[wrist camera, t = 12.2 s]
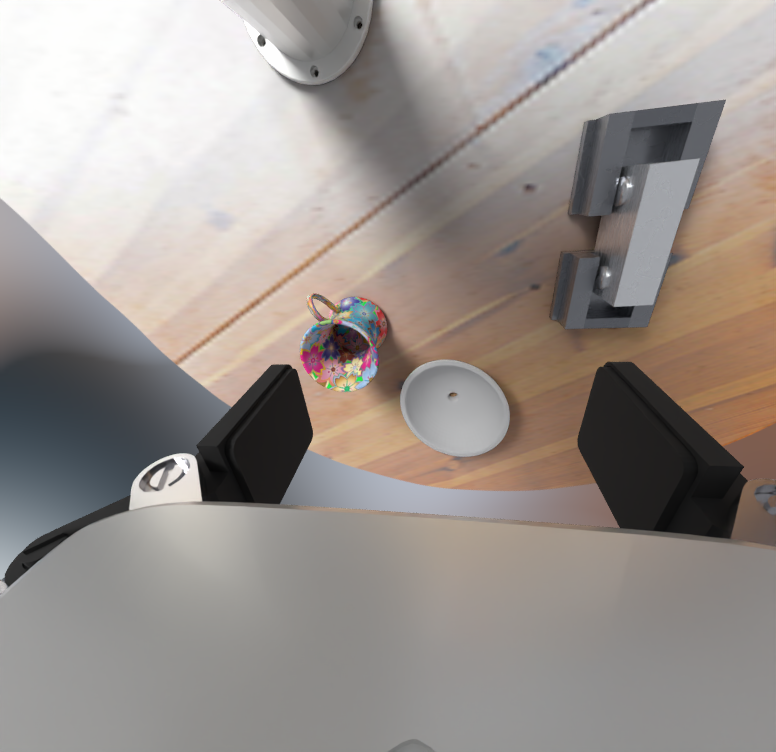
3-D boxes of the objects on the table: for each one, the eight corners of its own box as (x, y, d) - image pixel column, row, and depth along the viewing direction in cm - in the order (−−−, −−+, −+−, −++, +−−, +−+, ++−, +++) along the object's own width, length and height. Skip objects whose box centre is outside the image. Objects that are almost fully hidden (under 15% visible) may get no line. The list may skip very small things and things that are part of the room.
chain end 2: (561, 251, 37) (573, 258, 34) (657, 246, 36) (680, 252, 32) (549, 317, 41) (559, 329, 38) (635, 314, 40) (653, 326, 36)
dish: (522, 415, 50) (529, 437, 46) (440, 447, 55) (440, 468, 51) (468, 324, 43) (471, 340, 39) (383, 370, 49) (377, 388, 45)
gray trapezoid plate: (607, 168, 32) (645, 164, 26) (650, 163, 31) (700, 158, 25) (583, 287, 38) (609, 306, 32) (619, 285, 37) (653, 304, 31)
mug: (402, 337, 46) (393, 375, 37) (349, 362, 49) (329, 402, 40) (358, 260, 41) (335, 282, 32) (303, 293, 44) (268, 321, 35)
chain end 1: (584, 122, 31) (601, 114, 28) (701, 108, 30) (735, 98, 26) (567, 213, 35) (581, 216, 32) (670, 205, 34) (696, 208, 30)
